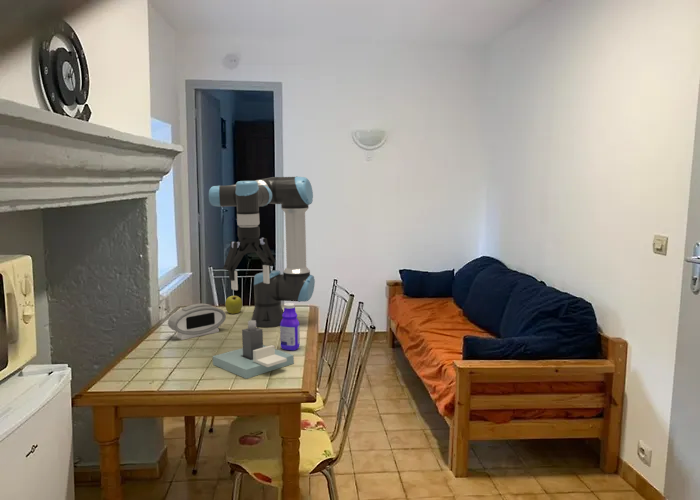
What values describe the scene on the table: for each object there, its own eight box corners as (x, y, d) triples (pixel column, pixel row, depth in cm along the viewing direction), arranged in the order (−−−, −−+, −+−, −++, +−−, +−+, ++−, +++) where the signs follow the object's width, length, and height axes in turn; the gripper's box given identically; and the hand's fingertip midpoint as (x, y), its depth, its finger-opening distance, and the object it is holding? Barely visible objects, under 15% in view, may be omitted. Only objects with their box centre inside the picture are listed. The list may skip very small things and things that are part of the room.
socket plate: (259, 351, 208) (259, 343, 208) (293, 363, 194) (293, 355, 194) (212, 364, 194) (212, 356, 194) (246, 378, 180) (245, 369, 180)
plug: (255, 359, 198) (253, 318, 196) (263, 362, 194) (262, 321, 192) (243, 363, 194) (241, 321, 192) (251, 366, 191) (250, 323, 189)
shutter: (272, 356, 193) (271, 344, 192) (286, 361, 187) (286, 349, 187) (253, 361, 187) (252, 350, 187) (267, 367, 182) (267, 355, 181)
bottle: (302, 347, 213) (301, 302, 210) (296, 351, 207) (294, 306, 205) (284, 345, 215) (283, 301, 213) (278, 349, 210) (277, 304, 207)
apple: (226, 308, 271) (231, 289, 270) (241, 313, 271) (246, 294, 269) (220, 312, 264) (226, 293, 262) (236, 317, 263) (241, 298, 261)
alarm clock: (175, 342, 221) (173, 310, 220) (168, 338, 226) (166, 308, 224) (226, 330, 237) (225, 301, 235) (219, 327, 241) (218, 299, 240)
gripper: (270, 222, 203) (272, 279, 206) (211, 228, 185) (214, 290, 188) (283, 223, 197) (285, 282, 201) (223, 230, 180) (226, 294, 183)
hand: (251, 286), depth 194 cm, fingers open, 13 cm apart
